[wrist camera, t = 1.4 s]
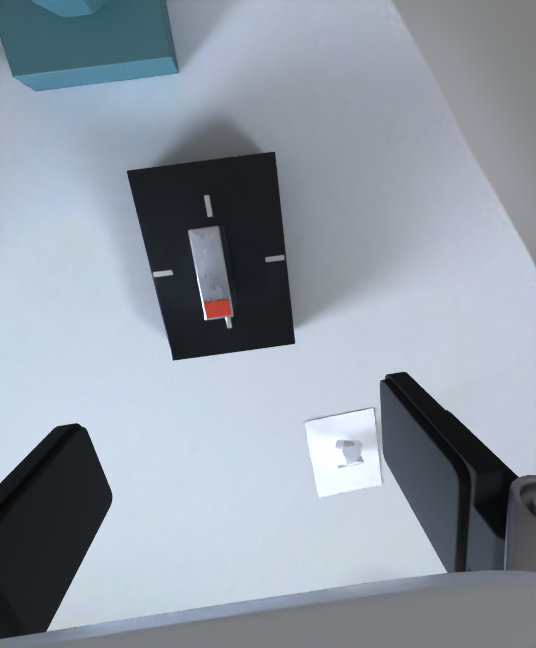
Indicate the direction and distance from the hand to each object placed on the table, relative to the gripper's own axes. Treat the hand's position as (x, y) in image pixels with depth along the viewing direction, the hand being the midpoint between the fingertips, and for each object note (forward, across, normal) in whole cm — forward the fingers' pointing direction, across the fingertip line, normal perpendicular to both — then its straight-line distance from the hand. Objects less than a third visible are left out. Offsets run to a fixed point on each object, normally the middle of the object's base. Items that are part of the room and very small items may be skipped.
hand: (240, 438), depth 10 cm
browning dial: (+15, +2, -4) cm, 15 cm away
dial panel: (+18, +2, -4) cm, 18 cm away
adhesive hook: (+18, -7, +18) cm, 26 cm away
